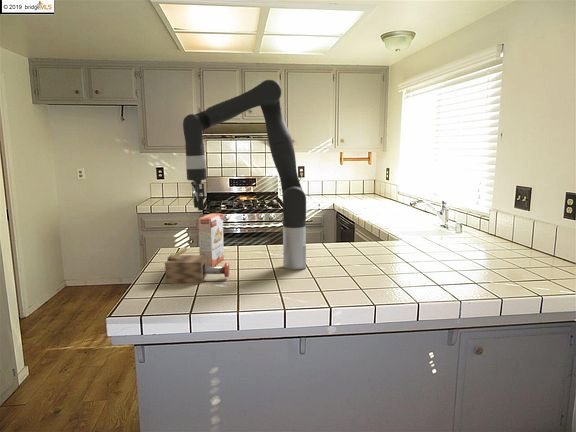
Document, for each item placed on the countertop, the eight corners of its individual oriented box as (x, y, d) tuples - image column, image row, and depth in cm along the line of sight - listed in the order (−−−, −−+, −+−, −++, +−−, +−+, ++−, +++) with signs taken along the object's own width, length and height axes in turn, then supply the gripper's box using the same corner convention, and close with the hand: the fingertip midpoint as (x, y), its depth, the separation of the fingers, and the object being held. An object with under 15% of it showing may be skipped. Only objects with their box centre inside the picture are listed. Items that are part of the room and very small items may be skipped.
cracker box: (213, 268, 168) (211, 218, 164) (199, 267, 169) (197, 218, 165) (225, 259, 181) (223, 213, 178) (212, 258, 182) (210, 212, 179)
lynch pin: (229, 274, 157) (229, 261, 156) (227, 279, 152) (227, 265, 151) (190, 275, 157) (189, 262, 156) (186, 279, 152) (186, 265, 151)
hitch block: (206, 275, 159) (206, 255, 158) (201, 283, 149) (200, 262, 148) (173, 275, 159) (172, 255, 158) (166, 283, 149) (164, 262, 148)
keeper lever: (187, 249, 154) (185, 246, 154) (185, 252, 150) (183, 249, 150) (171, 258, 155) (169, 255, 155) (168, 261, 151) (166, 258, 151)
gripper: (209, 167, 153) (212, 210, 155) (202, 166, 166) (205, 205, 168) (189, 168, 150) (192, 212, 153) (183, 167, 163) (186, 207, 166)
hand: (199, 208), depth 161 cm, fingers open, 8 cm apart
